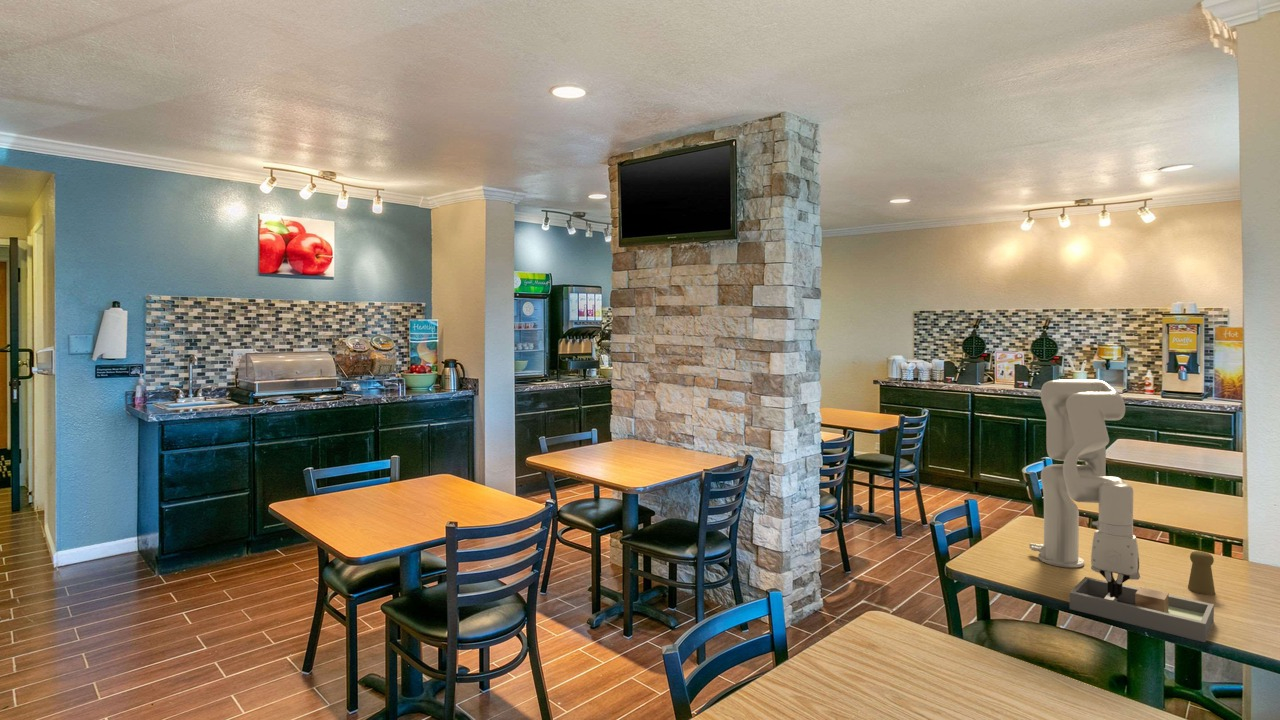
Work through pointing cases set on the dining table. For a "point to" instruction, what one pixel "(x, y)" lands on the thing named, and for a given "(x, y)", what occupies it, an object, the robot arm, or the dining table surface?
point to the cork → (1201, 573)
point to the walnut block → (1152, 599)
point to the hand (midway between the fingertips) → (1114, 596)
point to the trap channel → (1144, 610)
